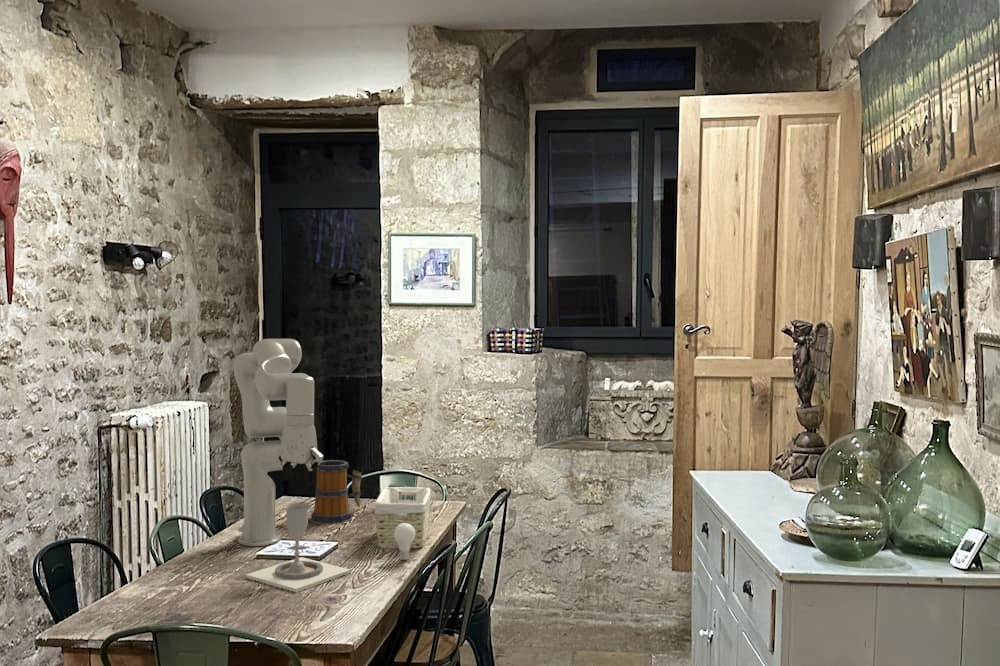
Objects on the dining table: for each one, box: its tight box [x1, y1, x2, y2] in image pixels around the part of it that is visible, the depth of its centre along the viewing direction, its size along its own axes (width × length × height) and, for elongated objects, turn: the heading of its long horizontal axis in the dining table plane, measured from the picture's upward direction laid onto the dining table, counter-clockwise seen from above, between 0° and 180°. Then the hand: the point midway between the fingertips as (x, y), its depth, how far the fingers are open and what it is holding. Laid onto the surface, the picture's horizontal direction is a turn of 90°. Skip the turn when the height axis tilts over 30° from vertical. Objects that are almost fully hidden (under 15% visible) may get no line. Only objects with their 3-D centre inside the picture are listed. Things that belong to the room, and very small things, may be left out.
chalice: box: [284, 502, 311, 574], centre depth 227 cm, size 7×7×18 cm
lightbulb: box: [394, 523, 415, 562], centre depth 242 cm, size 6×6×11 cm
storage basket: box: [374, 486, 432, 549], centre depth 264 cm, size 24×16×15 cm
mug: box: [310, 459, 362, 525], centre depth 291 cm, size 19×14×20 cm
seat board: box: [245, 556, 352, 593], centre depth 226 cm, size 20×20×2 cm
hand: (299, 482), depth 226 cm, fingers open, 9 cm apart
